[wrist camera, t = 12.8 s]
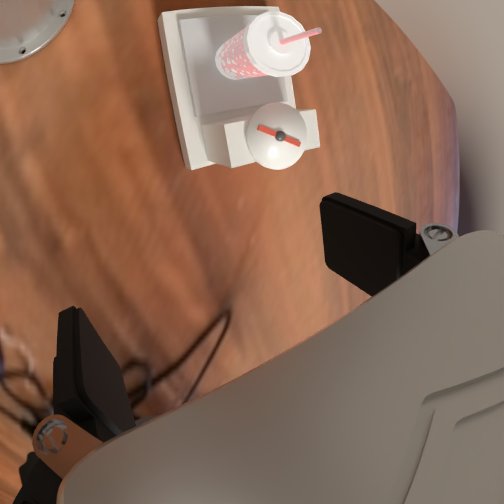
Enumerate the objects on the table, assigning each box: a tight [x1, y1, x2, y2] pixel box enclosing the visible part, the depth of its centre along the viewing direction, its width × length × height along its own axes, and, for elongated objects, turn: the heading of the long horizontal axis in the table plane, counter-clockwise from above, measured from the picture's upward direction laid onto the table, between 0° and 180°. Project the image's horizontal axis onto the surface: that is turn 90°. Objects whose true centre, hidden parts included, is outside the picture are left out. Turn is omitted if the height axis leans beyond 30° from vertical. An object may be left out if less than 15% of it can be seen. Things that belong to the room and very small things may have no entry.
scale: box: [157, 6, 320, 170], centre depth 28 cm, size 19×14×10 cm
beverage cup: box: [215, 12, 322, 80], centre depth 23 cm, size 6×6×14 cm
